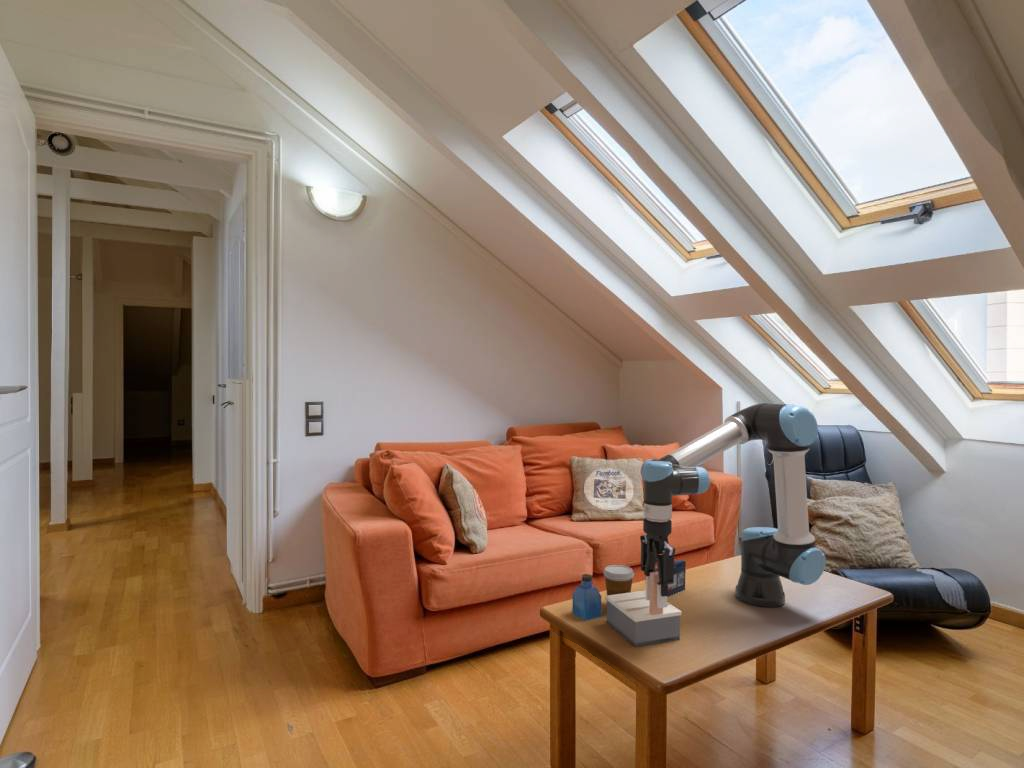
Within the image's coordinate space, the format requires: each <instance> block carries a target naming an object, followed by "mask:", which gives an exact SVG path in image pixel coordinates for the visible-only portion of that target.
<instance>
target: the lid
mask: <svg viewBox="0 0 1024 768" xmlns="http://www.w3.org/2000/svg"><path fill="white" fill-rule="evenodd" d="M657 582H659V575H658V572H650V600H646V589H645V590H638V591H631V592H630V593H623V594H615V595H608V596H607V595H605V600H606V602H607V601H609V602H610V603H611V604H613V605H614V606H615V607H616V608H618V609H619V610H620V611H622V612H623V613H624V614H625V615H627V616H628V617H629V618H631V619H632V620H633V621H635V622H639V621H646V620H652V619H659V618H665V617H672V616H678V615H680V616H682V612H683V611H681V610H680V609H679V608H677V607H675V606H674V605H673V604H671V603H670V602H668V601H667V607H664V608H657Z"/></svg>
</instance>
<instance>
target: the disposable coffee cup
mask: <svg viewBox="0 0 1024 768" xmlns="http://www.w3.org/2000/svg"><path fill="white" fill-rule="evenodd" d="M603 576H604V581H605V589H606V596H608V595H615V594H623V593H630V592H632V587H633V586H632V585H633V579H634V577H635V573H634V571H633V569H632V568H631V567H630V566H626V565H621V564H614V565H613V564H611V565H608V566H607V565H606V566H605V568H604V571H603Z"/></svg>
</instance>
